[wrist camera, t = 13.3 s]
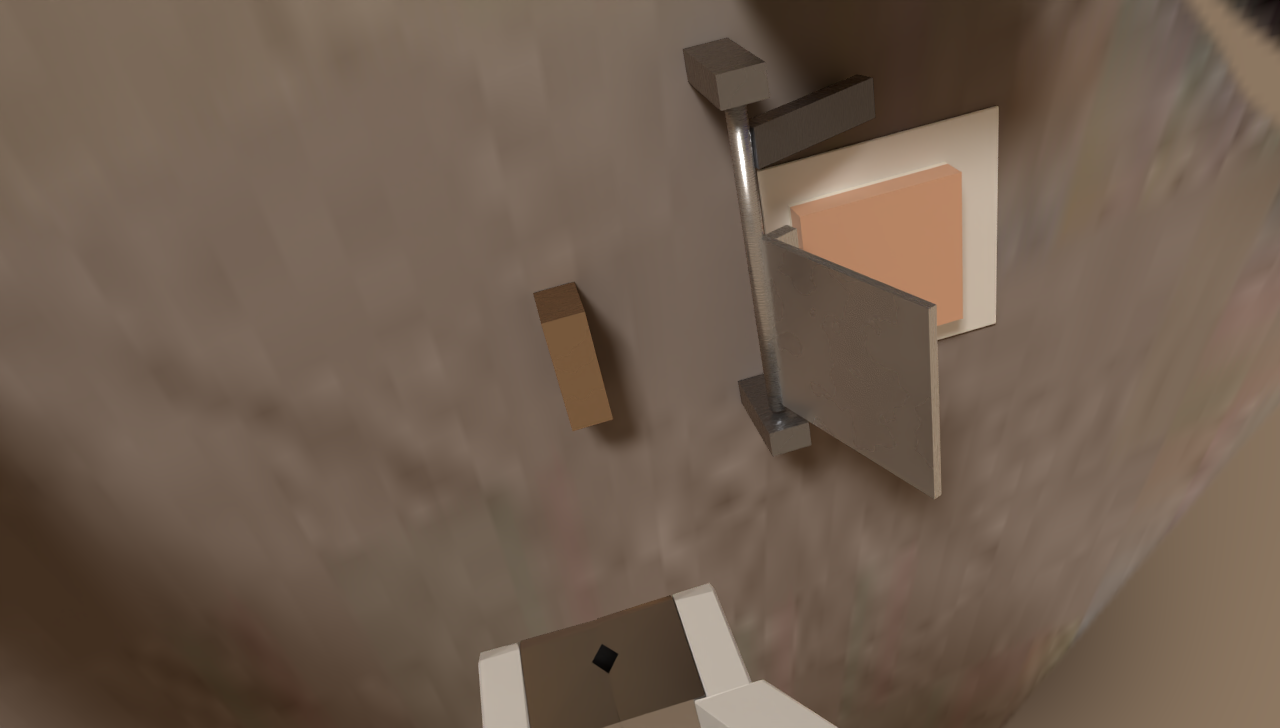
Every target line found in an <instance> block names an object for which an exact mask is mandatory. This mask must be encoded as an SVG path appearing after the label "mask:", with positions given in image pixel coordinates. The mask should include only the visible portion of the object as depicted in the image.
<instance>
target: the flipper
mask: <svg viewBox="0 0 1280 728" xmlns="http://www.w3.org/2000/svg"><path fill="white" fill-rule="evenodd" d="M725 115H726V122H727V129H728V136H729V142H730V149H731V156H732V163H733V169H734V176H735V183H736V190H737V196H738V203H739V210H740V217H741V224H742V230H743V237H744V244H745V251H746V257H747V264H748V271H749V278H750V284H751V291H752V298H753V305H754V311H755V318H756V325H757V332H758V338H759V345H760V352H761V359H762V366H763V372H764V379H765V386H766V393H767V399H768V406H769V410H771V411H773V412H781V411H783V410H785V409H786V408H788V409H790V410H791V411H793V412H795V413H796V414H798V415H799V416H801V417H803V418H804V419H806V420H807V421H809V422H811V423H812V424H814V425H815V426H817V427H819V428H820V429H822V430H824V431H825V432H827V433H828V434H830V435H832V436H833V437H835V438H836V439H838V440H840V441H841V442H843V443H844V444H846V445H848V446H849V447H851V448H852V449H854V450H856V451H857V452H859V453H861V454H862V455H864V456H865V457H867V458H869V459H870V460H872V461H873V462H875V463H877V464H878V465H880V466H881V467H883V468H885V469H886V470H888V471H889V472H891V473H893V474H894V475H896V476H898V477H899V478H901V479H902V480H904V481H906V482H907V483H909V484H910V485H912V486H914V487H915V488H917V489H918V490H920V491H922V492H923V493H925V494H926V495H928V496H930V497H931V498H933V499H936V498H937V497H939V496H940V495H941V457H940V418H939V380H938V341H937V305H936V304H934V303H931V302H929V301H926V300H924V299H921V298H919V297H917V296H914V295H912V294H909V293H907V292H904V291H902V290H899V289H897V288H895V287H892V286H890V285H887V284H885V283H882V282H880V281H877V280H875V279H872V278H870V277H868V276H865V275H863V274H860V273H858V272H855V271H853V270H850V269H848V268H846V267H843V266H841V265H838V264H836V263H833V262H831V261H828V260H826V259H824V258H821V257H819V256H816V255H814V254H811V253H809V252H806V251H804V250H801V249H799V244H798V235H797V228H794V227H791V226H789V225H784V226H782V227H780V228H778V229H776V230H774V231H772V232H770V233H768V234H766V235H765V234H764V231H763V223H762V216H761V208H760V201H759V193H758V186H757V178H756V171H755V168H758V169H761V168H763V167H765V166H767V165H770V164H772V163H774V162H776V161H779V160H781V159H783V158H785V157H788V156H790V155H792V154H794V153H797V152H799V151H801V150H803V149H806V148H808V147H810V146H812V145H815V144H817V143H819V142H821V141H824V140H826V139H828V138H831V137H833V136H835V135H837V134H840V133H842V132H844V131H846V130H849V129H851V128H853V127H855V126H858V125H860V124H862V123H864V122H867V121H869V120H871V119H873V118H875V104H874V87H873V77H867V76H862V75H855V76H852V77H850V78H847V79H845V80H843V81H840V82H838V83H835V84H833V85H831V86H828V87H826V88H823V89H821V90H818V91H816V92H814V93H811V94H809V95H806V96H804V97H802V98H799V99H797V100H794V101H792V102H790V103H787V104H785V105H782V106H780V107H778V108H775V109H773V110H770V111H768V112H766V113H763V114H761V115H758V116H756V117H754V118H751V119H748V112H747V104H745V105H742V106H738V107H734V108H730V109H727V110H725Z"/></svg>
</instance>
